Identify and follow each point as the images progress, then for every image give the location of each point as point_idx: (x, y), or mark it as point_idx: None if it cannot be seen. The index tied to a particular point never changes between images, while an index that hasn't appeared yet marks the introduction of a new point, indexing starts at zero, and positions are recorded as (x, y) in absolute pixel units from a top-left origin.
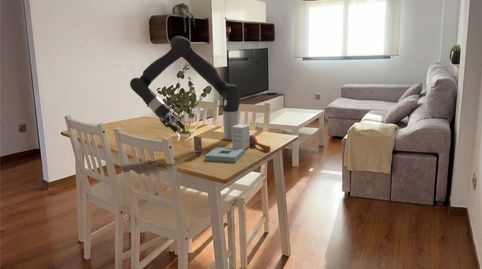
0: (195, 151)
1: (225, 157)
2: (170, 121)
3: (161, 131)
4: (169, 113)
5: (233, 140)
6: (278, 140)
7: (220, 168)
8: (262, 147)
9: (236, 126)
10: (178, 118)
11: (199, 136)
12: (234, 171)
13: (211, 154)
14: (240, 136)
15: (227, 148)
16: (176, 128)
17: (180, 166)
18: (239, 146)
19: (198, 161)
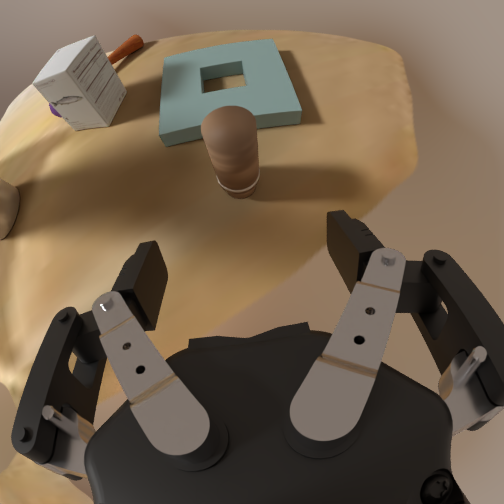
0: (258, 177)
1: (280, 58)
2: (391, 291)
3: (32, 494)
4: (162, 500)
5: (97, 102)
6: None
7: (348, 64)
8: (127, 50)
9: (70, 57)
10: (72, 339)
11: (217, 118)
12: (346, 39)
13: (276, 96)
14: (104, 64)
15: (168, 92)
16: (342, 217)
17: (411, 173)
18: (117, 94)
19: (327, 138)
